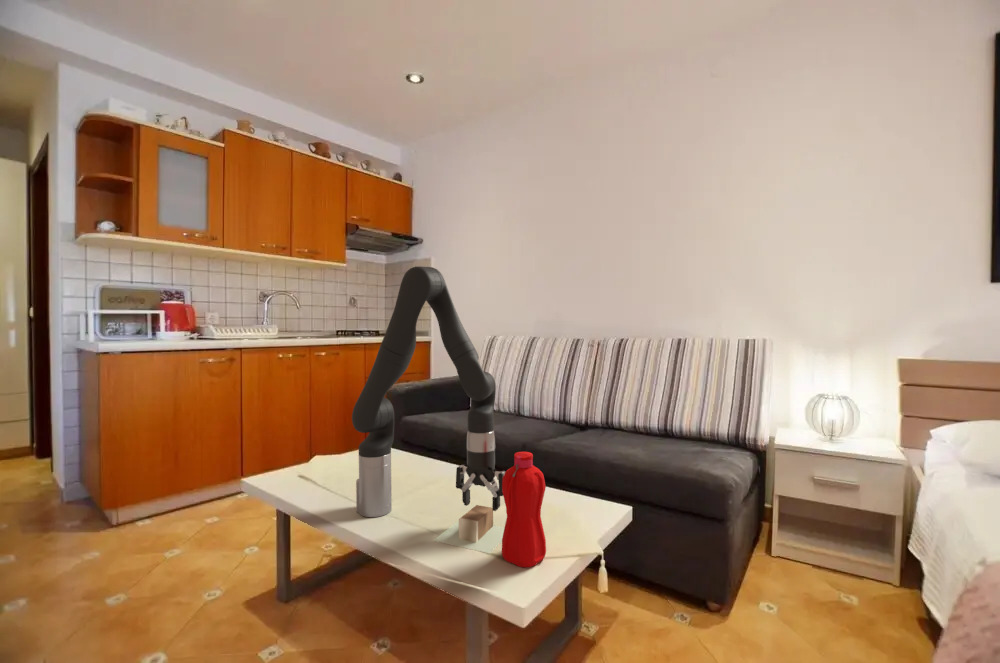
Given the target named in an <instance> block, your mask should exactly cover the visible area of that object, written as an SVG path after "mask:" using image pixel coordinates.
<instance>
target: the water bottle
mask: <svg viewBox="0 0 1000 663" xmlns="http://www.w3.org/2000/svg"><path fill="white" fill-rule="evenodd" d="M513 458H514V459H513V460H514V464H513V466H511V467H510V468H508V469H507V470H506V472H505V474H504V476H503V478H502V492H503V496H502V497H503V500H504V505H505V511H506V520H505V523H504V527H505V528H504V533H503V538H502V542H501V554H502V558H503V560H504V561H506V562H507V563H510V564H513V565H515V566H517V567H520V568H531V567H534V566H536V565H537V564H538V563H539V562H541V561H544V559H545V557H546V554H547V543H546V542H547V540H546V535H545V531H544V526H543V525H544V524H543V522H542V517H541V514H542V505H543V502H544V501H543V500H544V498H545V497H544V496H545V493H546V487H547V486H546V480H545V477H544V473H543V472H542V471H541V470H540V468H538V467H536V466H535V465H534V462H533V461H534V460H533V459H534V455H533V453H532V452H529V451H518V452H515V453H514V456H513Z"/></svg>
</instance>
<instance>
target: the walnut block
mask: <svg viewBox="0 0 1000 663" xmlns="http://www.w3.org/2000/svg"><path fill="white" fill-rule="evenodd" d="M458 520H459V539H462V540H467V541H471V542H477V541H478V540H479V539H480V538H481V537H483V536H484V535H485V534H486V533H487V532H488V531H489V530H490V529H491V528H492V527H493V525H494V511H493V507H489V506H485V505H480V504H479V505H478V504H476V505H475V506H473V507H472V508H471V509H470V510H468V511H467V512H466V513H465V514H463V515H462V516H461V517H460V518H458Z"/></svg>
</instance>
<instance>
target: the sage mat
mask: <svg viewBox="0 0 1000 663" xmlns="http://www.w3.org/2000/svg"><path fill="white" fill-rule="evenodd" d="M504 528H505V526H504V527H503V526H499V525H494V524H493V527H492V528H491V529H490V530H489V531H488V532H487V533H486V534H485V535H484V536H483V537H481V538H480V539H479V540H478V541H477V542H471V541H467V540H462V539H459V519H458V520H457V521H455V523H453V524H452V525H451V526H450V527H448V528H447V529H446V530H445V531H444V532H442V533H440V534H439V535H438V536H437V537H436V538H435V539H433V542H436V543H437V542H438V543H441V544H447V545H452V546H453V547H454V546H455V547H459V548H464V549H469V550H473V551H477V552H482V553H485V554H490V555H491V554H492V553H493V551H494V550H495V549H496V548H497V547H498V546H499V545H500V544H502V538H503V533H504ZM493 548H494V550H493Z"/></svg>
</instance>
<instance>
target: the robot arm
mask: <svg viewBox="0 0 1000 663" xmlns="http://www.w3.org/2000/svg"><path fill="white" fill-rule="evenodd" d="M425 303H427V304H428V305H429V306H430V308H431V310H432V311H433V314H434V315H435V318H436V320H437V325H438V328H439V335H440V337H441V341H442V344H443V347H444V349H445V351H446V352H447V354H448V357H449V358H450V360H451V362H452V364H453V365H454V367H455V369H456V372H457V376H458V378H459V381H460V384H461V387H462V388H463V391H464V393H465V394H466V395H467V397H468V398H470V408H469V410H468V413H467V434H466V464H467V466H465V465H464V464H461V465H459V466H457V467H456V473H455V488H456V489H460V490H461V493H462V500H461V501H462V503H463V505H464V506H465V507H466V506H469V505H470V504H471V489H470V488H471V487H472V486H473V485H474V486H480V487H483V488H484V487H486V488H487V490H488V491H489V492H490V493H491V494H492V508H493V512H496V511H498V510H499V508H501V497H504V496H503V492H502V478H503V476H504V474H505V472H506V471H507V470H506V471H505V470H502V471H497V470H496V468H495V466H496V437H495V417H494V416H495V415H494V409H495V402H496V393H497V392H496V391H497V385H496V380H495V378H494V376H493V375H492V374H491V373H489V372H488V371H484V370H483V368H482V366H481V363H480V361H479V353H478V351H477V350H476V348H475V346H474V344H473V343H472V339H470V337H469V335H468V333H467V331H466V329H465V327H464V326H463V324H462V321H461V319H460V317H459V314H458V312H457V309H456V307H455V304H454V302H453V300H452V297H451V294H450V292H449V288H448V285H447V283H446V280H445V277H444V276H443V274H442V273H441V272H440V271H439V269H437V268H435V267H431V266H412V267H411V268H409V269H408V270H407V271H406V272H405V273H404V275H403V277H402V279H401V282H400V286H399V291H398V292H397V297H396V302H395V305H394V309H393V313H392V315H391V317H390V320H389V323H388V324H387V325H388V326H387V328H386V331H385V334H384V336H383V339H382V340H381V342H380V343H381V344H380V346H379V349H378V351H377V354H376V357H375V360H374V362H373V366H372V368H371V369H370V373H369V375H368V377H367V380H366V382H365V385H364V386H363V388H362V390H361V392H360V394H359V397H358V398H357V401H355V404H354V407H353V410H352V414H351V422H352V426H353V428H354V429H355V431H357V432H358V433H361V434H365V433H366V434H367V433H368V435H367V436H366V437H365V438H364V439H363V440H362V442H360V444H359V445H358V478H357V479H356V481H355V482H356V483H355V484H356V485H355V487H356V488H355V491H356V494H355V496H356V513H359V515H361V516H362V517H367V518H377V517H382V516H385V515H387V514H389V513H391V512H392V509H393V508H392V500H393V499H392V494H393V493H392V446H393V443H394V439H395V438H394V437H395V410H394V406H393V404H392V402H391V401H390V400H389V399H388V398H386V394H387V393H389V391H390V389H391V388H392V387H393V386H394V385H395V384H396V383H397V381H399V379H400V378H401V377H402V376H403V375H404V374H405V372H406V370H407V369H408V368H409V365H410V363H411V360H412V357H413V355H414V353H415V350H416V346H417V323H418V319H419V316H420V314H421V311H422V309H423V307H424V305H425ZM465 474H467V476H468V479H467V480H466V481H465ZM495 477H496V479H495ZM497 481H498V483H497Z"/></svg>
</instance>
